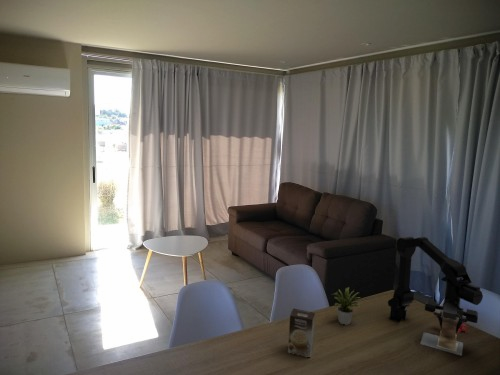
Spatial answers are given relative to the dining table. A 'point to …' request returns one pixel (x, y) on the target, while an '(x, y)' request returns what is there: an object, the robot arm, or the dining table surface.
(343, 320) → the house plant
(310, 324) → the coffee box
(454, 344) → the oak base block
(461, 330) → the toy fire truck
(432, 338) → the plate
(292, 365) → the dining table surface
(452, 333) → the walnut cube
